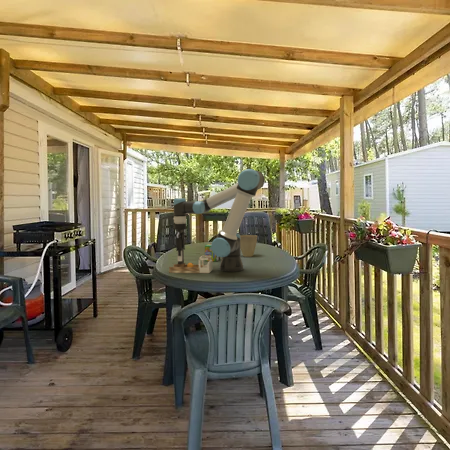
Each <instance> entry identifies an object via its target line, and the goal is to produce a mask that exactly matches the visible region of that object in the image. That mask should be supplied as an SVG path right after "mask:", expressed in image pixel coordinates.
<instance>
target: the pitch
mask: <svg viewBox="0 0 450 450" xmlns="http://www.w3.org/2000/svg"><path fill="white" fill-rule="evenodd" d="M177 264H178V263H173V266H169V267H168V268H169V269H168V273H169V274H170V273H171V274H201V273H200V268H199V264H193V267H187V264H188V263H187V264H186V263H185V267H177ZM201 267H203V265H202V264H201Z"/></svg>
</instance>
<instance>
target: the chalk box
mask: <svg viewBox="0 0 450 450" xmlns="http://www.w3.org/2000/svg"><path fill="white" fill-rule="evenodd" d="M212 242H213V240H212V241H211V243H208V244H205V245H204V256H211V258H209V260H204V262H209V261H210V260H212V263H213V262H218V261H220V260H221V257H218V256H216V255H215V254H214V253H213V251H212V249H211V244H212ZM204 258H208V257H204Z"/></svg>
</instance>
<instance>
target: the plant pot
mask: <svg viewBox="0 0 450 450" xmlns="http://www.w3.org/2000/svg"><path fill="white" fill-rule="evenodd" d="M240 238H241V240H240V250H241V254H242V256H243V257H245V258H251V257H253V256H254V253H255V250H256V247H257V242H258V241H257V240H258V235H255V234H240Z"/></svg>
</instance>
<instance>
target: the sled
mask: <svg viewBox="0 0 450 450" xmlns="http://www.w3.org/2000/svg"><path fill="white" fill-rule="evenodd" d="M184 251H185V250H184V248H182V261H178V260H177V263H176V264H177V267H185V264H186V262H185V252H184Z"/></svg>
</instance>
